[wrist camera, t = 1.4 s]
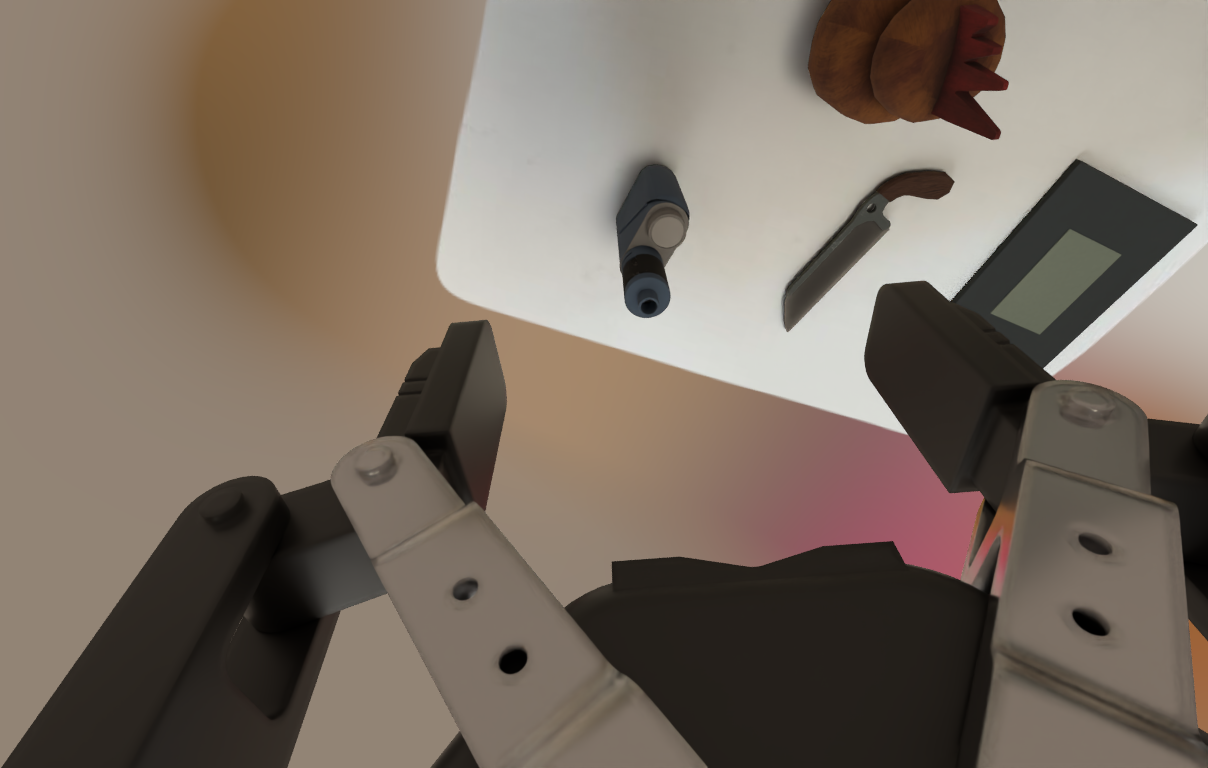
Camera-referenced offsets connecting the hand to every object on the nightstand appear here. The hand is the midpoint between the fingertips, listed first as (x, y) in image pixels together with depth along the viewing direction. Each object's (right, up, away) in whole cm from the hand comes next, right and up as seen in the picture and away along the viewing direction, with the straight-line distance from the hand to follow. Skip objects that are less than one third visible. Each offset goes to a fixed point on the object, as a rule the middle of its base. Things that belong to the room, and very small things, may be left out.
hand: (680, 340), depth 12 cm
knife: (+15, +8, +27) cm, 32 cm away
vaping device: (+1, +11, +25) cm, 27 cm away
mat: (+31, +7, +28) cm, 42 cm away
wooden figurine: (+12, +19, +19) cm, 29 cm away
